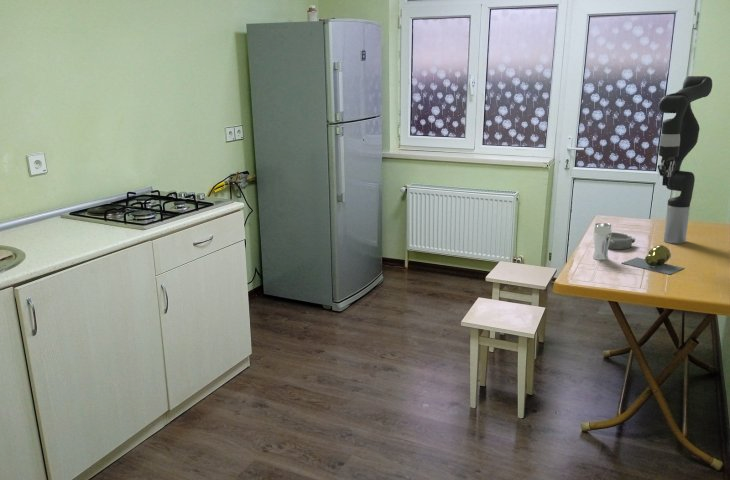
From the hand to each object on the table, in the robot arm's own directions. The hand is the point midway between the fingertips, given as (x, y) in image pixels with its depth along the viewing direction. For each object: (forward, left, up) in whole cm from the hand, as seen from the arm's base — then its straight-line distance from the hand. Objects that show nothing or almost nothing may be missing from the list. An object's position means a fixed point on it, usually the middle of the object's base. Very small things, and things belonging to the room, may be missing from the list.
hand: (665, 185), depth 251 cm
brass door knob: (+13, +8, -26) cm, 30 cm away
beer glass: (+25, -13, -31) cm, 41 cm away
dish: (+2, -19, -31) cm, 36 cm away
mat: (+19, +7, -30) cm, 37 cm away
